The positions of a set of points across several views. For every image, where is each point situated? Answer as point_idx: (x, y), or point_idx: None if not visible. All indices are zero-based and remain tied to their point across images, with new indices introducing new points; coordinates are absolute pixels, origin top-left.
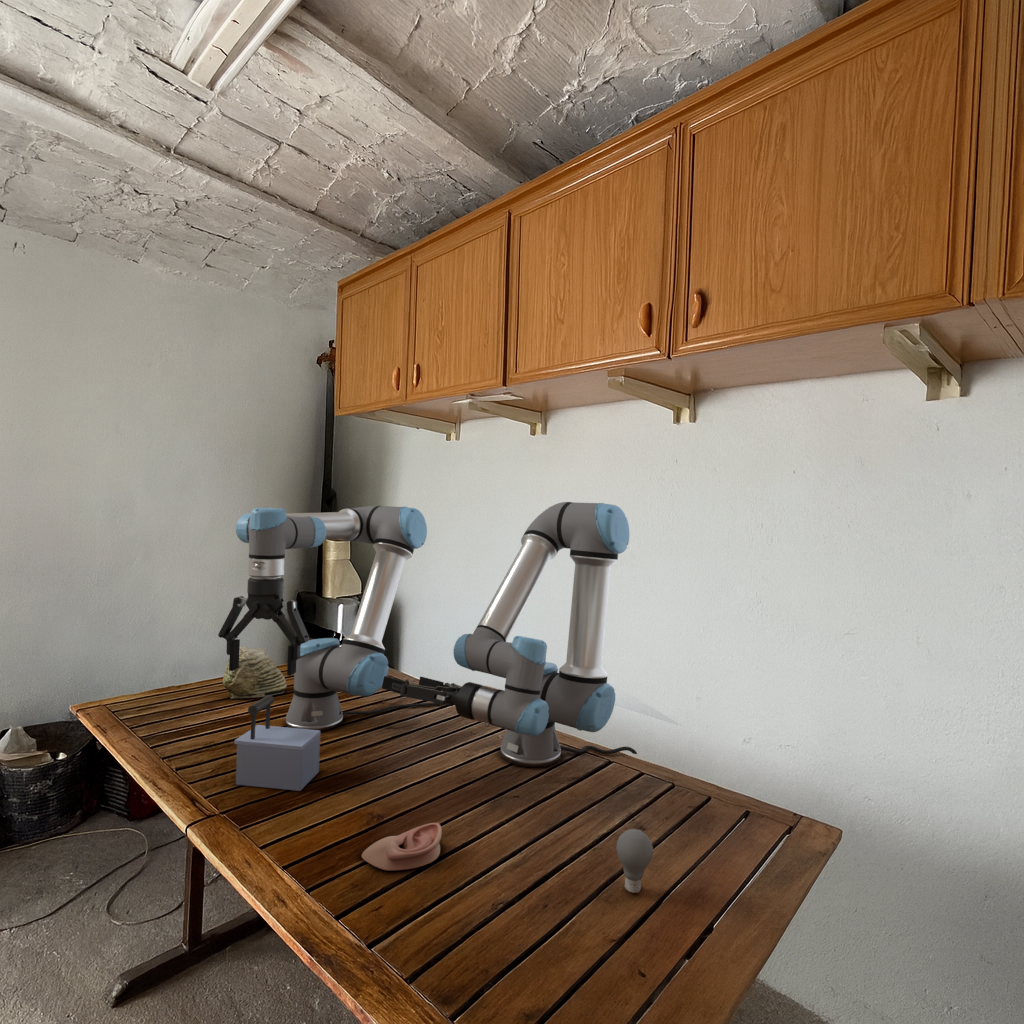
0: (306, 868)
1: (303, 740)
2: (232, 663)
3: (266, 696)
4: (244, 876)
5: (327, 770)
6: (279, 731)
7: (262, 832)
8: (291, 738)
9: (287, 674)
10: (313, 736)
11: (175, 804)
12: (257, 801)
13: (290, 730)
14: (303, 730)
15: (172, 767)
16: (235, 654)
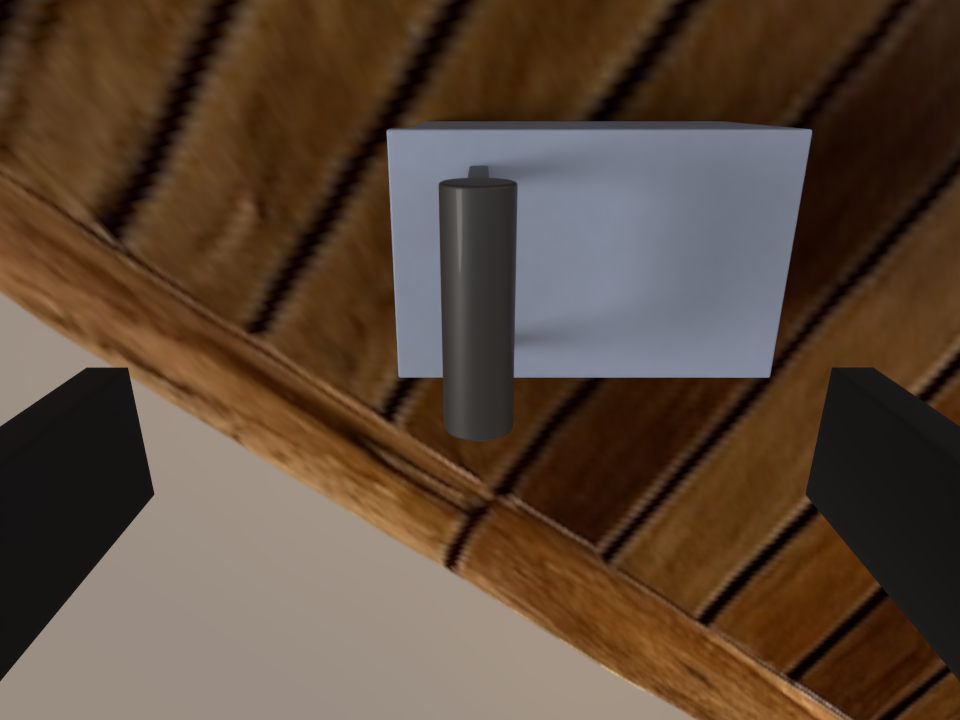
0: (847, 672)
1: (755, 303)
2: (108, 545)
3: (468, 225)
4: (711, 715)
5: (755, 91)
6: (571, 206)
7: (675, 562)
8: (681, 292)
9: (814, 499)
10: (794, 233)
11: (323, 474)
12: (575, 407)
13: (629, 175)
14: (707, 157)
15: (77, 216)
16: (30, 562)
